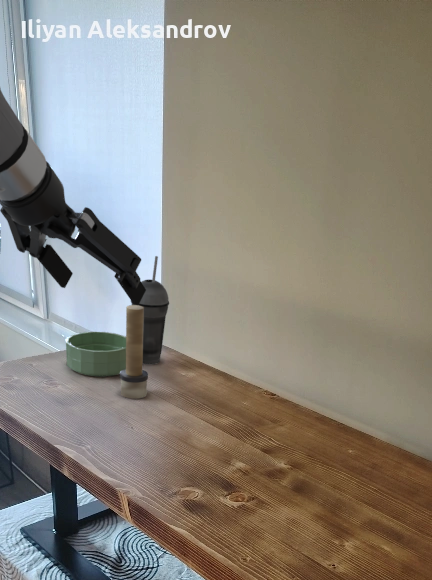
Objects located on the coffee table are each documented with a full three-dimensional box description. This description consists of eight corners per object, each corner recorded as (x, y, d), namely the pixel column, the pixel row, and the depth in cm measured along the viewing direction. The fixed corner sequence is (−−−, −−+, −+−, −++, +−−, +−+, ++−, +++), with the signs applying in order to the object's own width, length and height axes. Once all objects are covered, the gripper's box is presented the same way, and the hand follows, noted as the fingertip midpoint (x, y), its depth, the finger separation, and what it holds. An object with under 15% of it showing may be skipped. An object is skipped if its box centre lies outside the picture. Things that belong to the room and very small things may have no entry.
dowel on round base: (115, 397, 106) (116, 308, 99) (124, 387, 111) (125, 302, 103) (143, 401, 106) (145, 312, 98) (150, 391, 110) (153, 305, 103)
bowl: (56, 372, 114) (55, 346, 112) (81, 353, 124) (80, 328, 122) (119, 381, 113) (119, 355, 110) (139, 361, 123) (139, 336, 121)
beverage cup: (144, 352, 128) (146, 249, 118) (174, 360, 125) (178, 256, 115) (122, 360, 123) (122, 254, 113) (152, 369, 120) (155, 260, 110)
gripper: (-68, 191, 78) (27, 293, 97) (90, 219, 68) (161, 327, 87) (-39, 144, 79) (49, 254, 98) (120, 165, 69) (184, 282, 88)
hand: (102, 288), depth 93 cm, fingers open, 13 cm apart
